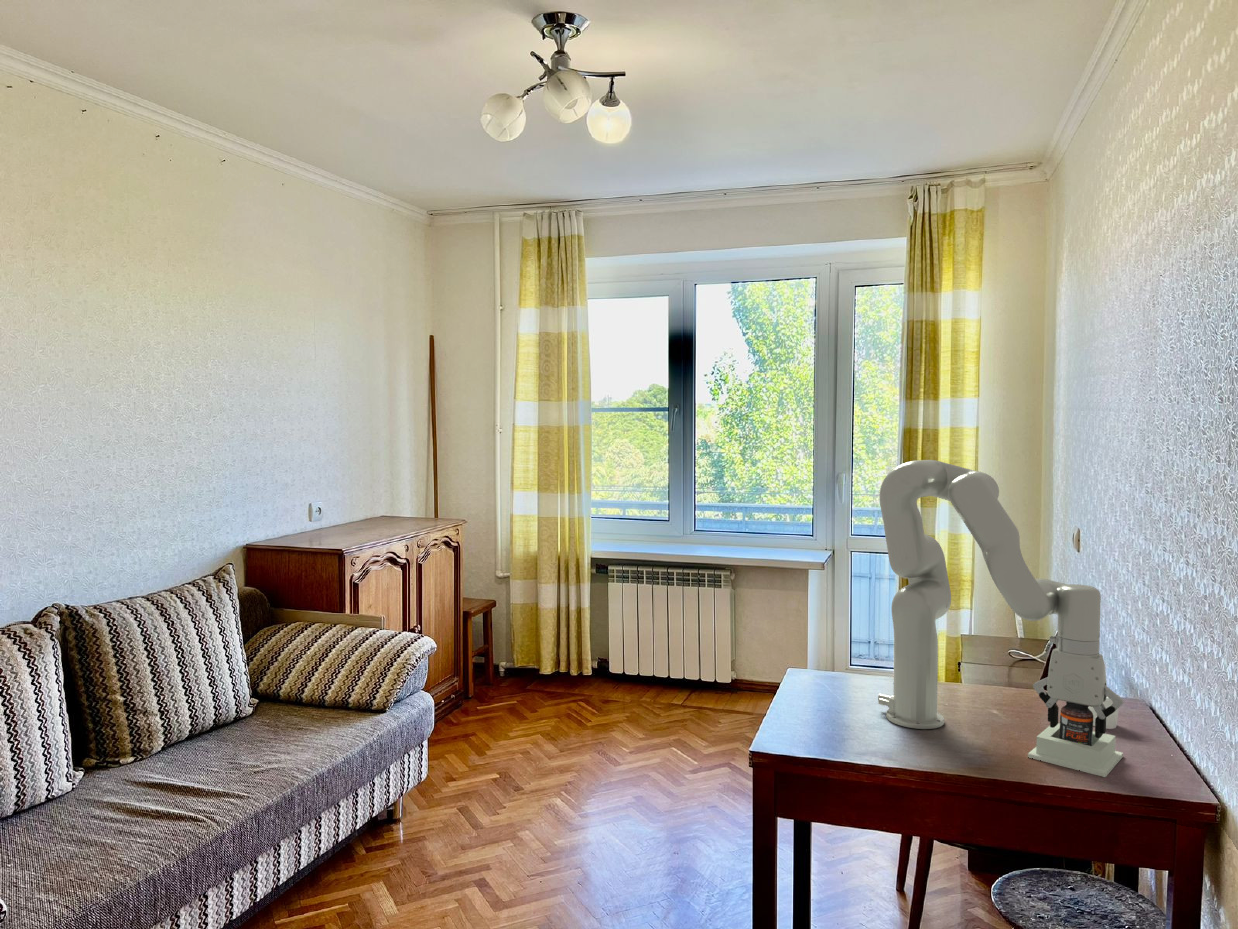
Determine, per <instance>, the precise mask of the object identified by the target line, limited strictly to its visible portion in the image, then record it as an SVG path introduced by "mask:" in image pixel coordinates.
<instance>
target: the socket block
mask: <svg viewBox="0 0 1238 929" xmlns="http://www.w3.org/2000/svg"><path fill="white" fill-rule="evenodd" d="M1059 733H1060V722H1058V725H1057V726H1055V727H1054V728H1052V727H1050V725H1048V726H1047V727H1046V728H1045V729H1044V730H1042V732H1040V733H1039V734H1038V735H1036V744H1035V747H1034V748H1033V749H1032V750H1030V751H1029V752H1028V753H1027V758H1028V757H1029V759H1032V758H1033V759H1032V760H1036V761H1040V760H1041V761H1040V762H1045V763H1048V764H1053V765H1057V766H1060V767H1064V768H1069V769H1070V770H1076V771H1079V770H1080V772H1083V773H1087V774H1090V775H1095V776H1100V777H1103V778H1106V777H1107V776H1109V773H1111V772H1112V770H1113V769H1114V768H1115V766H1117V764H1118V763H1119V762H1120V761H1121V760H1122V759H1123V758H1124V752H1122V751H1118V750H1116V735H1113V734H1108V733H1105V734H1103V735H1102V736H1101V737H1100V738H1096V737H1095V730H1093V736H1092V746H1088V745H1084V744H1080V743H1075V742H1071V741H1067V740H1063V739H1059Z"/></svg>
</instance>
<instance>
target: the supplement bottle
mask: <svg viewBox="0 0 1238 929" xmlns="http://www.w3.org/2000/svg"><path fill="white" fill-rule="evenodd" d="M1065 703H1066V704H1065V705H1063V706H1062V707H1061V709H1060V716H1059V717H1060V718H1059V723H1060V733H1059V739H1063V740H1067V741H1071V742H1075V743H1080V744H1084V745H1088V746H1092V736H1093V731H1094V726H1093V713H1092V711H1090V710H1089V708H1088V707H1089V706H1085V705H1080V704H1075V703H1071V702H1066V701H1065Z"/></svg>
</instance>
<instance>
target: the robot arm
mask: <svg viewBox="0 0 1238 929" xmlns="http://www.w3.org/2000/svg"><path fill="white" fill-rule="evenodd" d="M999 496H1000V489H999V485H998V483H997V482H996V480H995V479H994V477H992V476H991V475H989V474H987V473H986V472H983V471H982V472H981V471H978V470H975V469H969V468H966V467H962V466H959V465H956V464H951V463H948V462H943V461H939V460H935V459H923V460H921V459H920V460H919V459H917V460H916V459H915V460H911V461H907V462H904V463H901V464H899V465H897V466H896V467H895V468H893V469H892V470H890V471H889V472H888V474H887V475H886V476H885V477H884V478H883V480H882V483H881V486H880V490H879V505H880V510H881V515H882V522H883V528H884V536H885V542H886V548H887V549H886V550H887V554H888V562H889V566H890V568H891V570H892V571H893V572H894V573H895V575H896V576H898V577H900V578H903V579H907V580H908V584H907V585H904V586H903V587H902V588H900V589H899V590H898V591H897V592H896V593H895V595H894V596H893V598H892V603H891V617H892V618H891V619H892V625H893V695H891V696H890V695H889V694H886V693H885V694H884V693H879V694H878V696H877V701H878V705H882V706H887V707H888V709H887V710H886V711H885V713H886V714H885V717H886V719H887V720H888V721H889V722H891V723H892V724H895V725H897V726H901V727H905V728H910V729H915V730H932V729H937V728H941V727H942V726H944V724H945V717H944V716H943V715H942V714H941V713H940V712H938V682H939V680H938V676H939V675H938V673H939V672H938V671H939V641H938V640H939V639H938V633H937V631H938V630H937V626H936V621H937V619H938V620H939V618H942V617H943V616H944V615H946V614H947V612H948V611H949V609H950V607H951V605H952V593H951V592H952V591H951V586H950V582H949V575H948V569H947V563H946V558H945V554H944V553H945V552H944V550H943V549H942V546H941V544H940V543H939V542H938V541H937V539H935V538H934V537H933V536H930V535H928V534H925V531H924V526H923V518H922V514H921V511H920V509H919V508H918V504H917V503H918V500H919V499H921V498H925V497H933V498H939V499H942V500H945V501H948V502H949V503H950V504H951V505H952V507H953V508H954V510H955V512H956V513H957V514H958V516H959V517H960V519H961V520H962V522H963V523H964V525H965V526H966V527H967V529H968V531H969V532H970V534H971V535H972V537H973V539H974V540H975V542H976V544H978V547H979V548H980V551H981V553H982V556H983V560H984V561H985V562H984V563H985V564H986V567H987V569H988V572H989V575H990V577H991V579H992V581H993V583H994V584H995V587H996V588H997V589H998V591H999V593H1000V594H1001V596H1002V598H1004V600H1005V602H1006V603H1007V605H1008V607H1009V608H1010V609H1011V610H1012V612H1014V613H1015V614H1016V615H1017V616H1018V617H1020V618H1021V619H1023V620H1025V621H1029V622H1030V621H1031V622H1036V621H1037V622H1038V621H1040V620H1043V619H1044V618H1046V617H1048V616H1051V615H1057V634H1056V635H1054V636H1052V635H1051V636H1050V637H1049V643H1053V644H1055V646H1056V647H1055V648H1053V649H1052V652H1051V654H1050V659H1049V660H1050V661H1049V666H1048V673H1047V674H1048V675H1047V677H1045V678H1042V679H1040V680H1038V681H1036V682H1034V683H1033V684H1032V688H1033V689H1034V690H1035V692H1036V693H1037V694H1038V697H1039V698H1040V699H1041V701H1042V702H1043V703H1044V704H1045V706H1046V707H1047V722H1049V726H1050V727H1052V728H1054V727H1055V726H1057V725H1058V723H1059V709H1060V708H1059V706H1058V705H1057V703H1058V701H1061V702H1065V703H1066V702H1071V703H1075V704H1080V705H1085V706H1090V707H1093V708H1094V710H1095V712H1096V713H1097V718H1096V719H1095V726H1094V731H1095V737H1096V738H1100V737H1101V736H1102V735H1103V734H1106V730H1107V729H1106V717H1108V716H1109V715H1111V714H1112V713H1114V712H1115V711H1116V710H1117V709H1118V708H1119V709H1120V707H1121V706H1123V704H1124V703H1125V701H1124V699H1123V698H1122V697H1121V696H1120V695H1119V694H1117V693H1116V692H1114V691H1113V689H1111V688H1110V687H1109V686H1107V685H1108V684H1107V672H1106V666H1105V661H1104V660H1105V659H1104V655H1103V654H1101V653H1100V646H1101V645H1100V642H1101V641H1100V640H1101V638H1100V637H1101V635H1100V634H1101V603H1102V600H1101V599H1102V598H1101V597H1102V596H1101V592H1100V591H1099V589H1098V588H1097V587H1094V586H1091V585H1086V584H1079V583H1078V584H1077V583H1076V584H1074V583H1071V584H1067V583H1063V582H1059V581H1054V580H1051V579H1046V578H1035V577H1034V575H1033V573H1032V572H1031V570H1030V569H1029V567H1028V565H1027V563H1026V561H1025V559H1024V557H1023V554H1022V551H1021V545H1020V544H1021V541H1020V538H1021V537H1020V532H1019V529H1018V526H1016V524H1015V522H1014V521H1013V520H1012V519H1011V517H1010V516H1009V514H1008V513H1007V511H1006V510H1005V508H1004V506H1002V504H1001V502H1000V501H999ZM1045 686H1046V690H1045V688H1044V687H1045ZM1118 695H1119V696H1120V697H1119V696H1118ZM1106 697H1108V698H1109V699H1111V700H1112V701H1113V704H1112V705H1111V706H1109V707H1108V708H1106V707H1105V706H1104V704H1103V702H1104V701H1105V700H1106Z"/></svg>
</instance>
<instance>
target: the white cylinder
mask: <svg viewBox="0 0 1238 929" xmlns="http://www.w3.org/2000/svg"><path fill="white" fill-rule="evenodd" d="M1117 695H1118V696H1119V697H1120V698H1121V696H1120V695H1119V694H1117ZM1103 704H1104V706H1105V707H1106V708H1108V707H1109V706H1111V705H1112V704H1113V701H1112V700H1111V699H1109V698H1108V697H1106V700H1105V701H1104V702H1103ZM1088 708H1089V710H1090V711H1092V713H1093V727H1095V719H1096V718H1097V713H1096V712H1095V710H1094V708H1093V707H1090V706H1089V707H1088ZM1119 709H1120V707H1119V708H1118V709H1117V710H1116V711H1115V712H1114V713H1112V714H1111V715H1109V716H1108V717H1106V730H1112V729H1116V728H1117V724H1118V723H1117V722H1118V718H1119V717H1118V716H1119Z"/></svg>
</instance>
